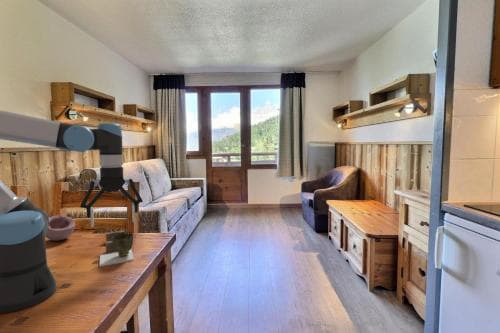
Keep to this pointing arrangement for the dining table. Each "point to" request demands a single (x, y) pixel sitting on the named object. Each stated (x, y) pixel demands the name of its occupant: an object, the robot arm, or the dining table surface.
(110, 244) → the walnut slot holder
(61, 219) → the pink bowl
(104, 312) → the dining table surface
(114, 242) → the cup
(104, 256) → the ceramic tile
